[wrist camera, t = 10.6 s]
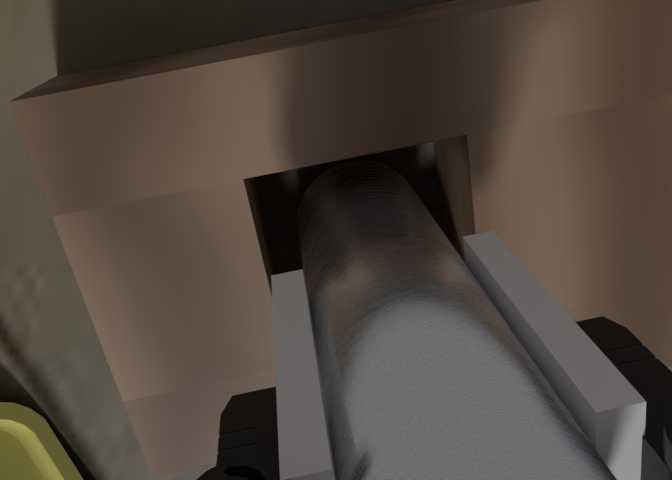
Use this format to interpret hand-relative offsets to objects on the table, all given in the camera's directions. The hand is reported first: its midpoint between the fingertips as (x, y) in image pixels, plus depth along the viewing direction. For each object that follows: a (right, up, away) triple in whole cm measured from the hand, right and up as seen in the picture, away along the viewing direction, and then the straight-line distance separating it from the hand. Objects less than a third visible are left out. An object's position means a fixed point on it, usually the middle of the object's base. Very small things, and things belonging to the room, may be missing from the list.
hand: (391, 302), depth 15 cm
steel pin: (-1, +2, +5) cm, 5 cm away
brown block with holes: (+7, +4, +6) cm, 10 cm away
